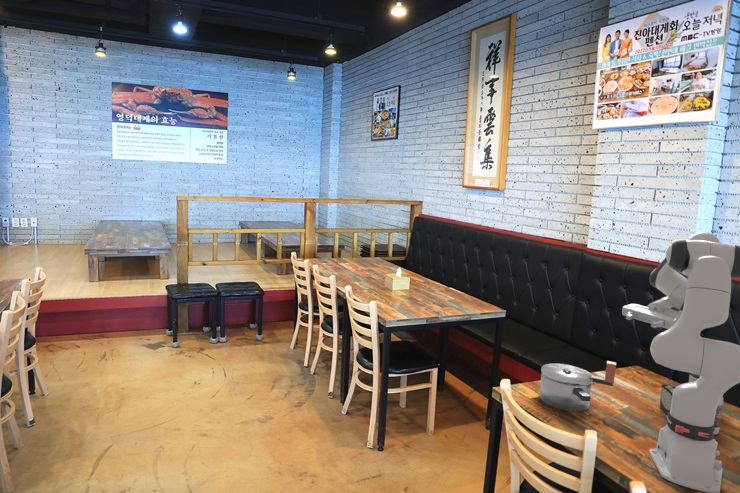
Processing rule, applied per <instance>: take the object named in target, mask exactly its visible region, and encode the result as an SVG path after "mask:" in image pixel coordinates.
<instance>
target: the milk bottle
mask: <svg viewBox="0 0 740 493" xmlns="http://www.w3.org/2000/svg"><path fill="white" fill-rule="evenodd" d="M723 396H724V394H723V395H722V397H721V398H720V400H719V403H718V406H717V410H716V414H715V419H714V423H715V434H714V436H716V435H719V432H720V429H721V422H722V415H723V409H724V397H723Z"/></svg>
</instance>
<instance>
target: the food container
mask: <svg viewBox="0 0 740 493" xmlns="http://www.w3.org/2000/svg"><path fill="white" fill-rule="evenodd" d="M677 386H678V385H676V384H675V385H674V384H671V383H668V382H667V383H666V382H662V383H661V385H660V389H661V390H660V401H659V410H661V412H662V413H663V414H664V416H665V417H666V418H667V415H668V412H669V411H670V409H671V402H672V395H673V391H674V389H675V388H676V387H677Z"/></svg>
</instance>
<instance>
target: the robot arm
mask: <svg viewBox="0 0 740 493" xmlns="http://www.w3.org/2000/svg"><path fill="white" fill-rule="evenodd" d="M686 276H687V278H686ZM738 278H740V246H739V245H737V244H728V243H727V244H726V243H722V242H721V241H720V239H719V238H718V237H717V236H716V235H715V234H713V233H710V232H707V231H705V232H704V231H700V232H695V233H693V234H692V235H691V236H689V238H688V239H686V238H680V239H678V238H677V239H674V240H673V241H672V242H670V245H669V246H668V248H667V249H666V253H665V258H664V259H662V260H661V262H660V264H659V265H658V266H657V267H655V269H653V270H652V272H651V273H650V274H649V278H648V279H649V284H650V286H652V287H653V288H655V289H657V290H658V291H660V292H661V293H662V294H664V295H665V296H664V297H661V298H660V299H658V300H657V299H656V300H655V301H653V302H650V303H649V304H647V306H644V305H641V304H638V303H630V304H627V305H623V306H622V309H621V313H622V316H624V317H625V320H628V321H631V320H633V319H635V320H637V321H640V322H644V323H648V324H650V328H653V329H656V328H664V329H666V330H664V331H662V332H659V333H658V334H657V335H656V336H654V337H653V339H652V341H651V343H650V354H651V356H652V359H653V360H654V362H655V363H656V364H657V365H660V366H663V367H666V368H668V369H671V370H674V371H679V372H684V373H689V374H690V373H693V374H698V375H700V378H699V379H697V380H696V381H693V382H689V381H688V382H684V383H680V384H679V385H676V386H677V387H676V388H675V389H674V391H673V395H672V402H671V409H670V411H669V412H668V415H667V417H666V425H665V426H663V427H661V428H659V431H658V432H659V433H658V436H657V437H658V439H657V443H656V444H657V445H656V447H655V448H649V451H648V453H649V455H650V458H651V459H652V462H653V463H654V465H655V466H656V469H657V470H658V472H659V474H660V476H661V477H662V478H664V479H665V480H667V481H669V482H671V483H673V484H676V485H679V486H682V487H685V488H689V489H691V490H695V491H700V492H704V493H721V487H722V479H723V472H724V470H723V468H722V464H723V463H722V460H719V459H716V457H719V456H720V454H721V451H719V450H717V449H718V444H719V443H718V442H717V441H716V439H715V435H714V434H715V423H714V419H715V414H716V410H717V406H718V403H719V400H720V398H721V397H722V395H723V396H724V394H725V393H726V392H727V391H728V390H729V389H731V388H732V387H734V386H735V385H738V384H740V345H739V344H737V343H733V342H730V341H724V340H719V339H713V338H707V337H702V336H701V332H702V331H704V330H706V329H710V328H715V327H717V326H721V325H722V324H725V323H726V321H727V320H728V318H729V315H730V304H731V293H732V291H731V290H732V279H738Z"/></svg>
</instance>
